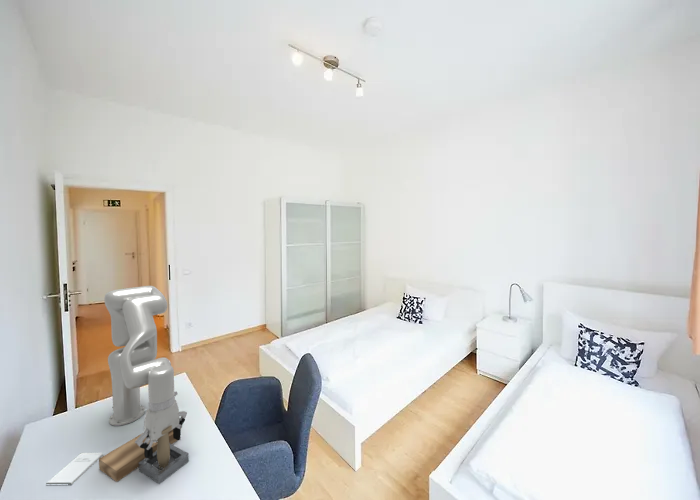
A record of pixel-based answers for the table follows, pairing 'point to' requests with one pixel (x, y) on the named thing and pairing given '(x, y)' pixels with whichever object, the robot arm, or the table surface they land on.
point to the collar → (160, 476)
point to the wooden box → (126, 458)
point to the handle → (163, 449)
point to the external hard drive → (75, 468)
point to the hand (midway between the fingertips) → (163, 447)
